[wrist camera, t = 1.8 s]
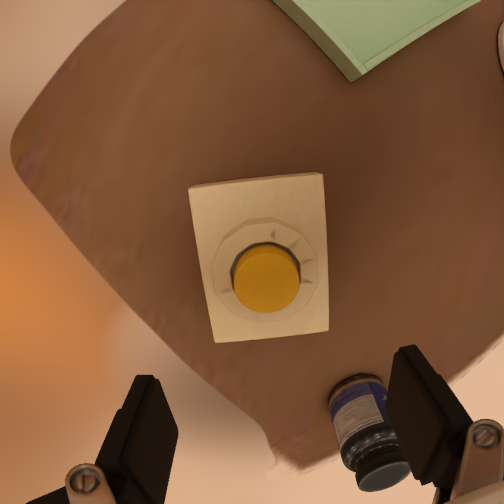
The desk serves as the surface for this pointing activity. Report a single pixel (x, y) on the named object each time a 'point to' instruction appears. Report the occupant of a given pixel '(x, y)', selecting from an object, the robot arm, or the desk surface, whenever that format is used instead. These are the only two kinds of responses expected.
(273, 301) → the button
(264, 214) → the box
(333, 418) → the pill bottle
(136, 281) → the desk surface
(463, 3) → the tray
